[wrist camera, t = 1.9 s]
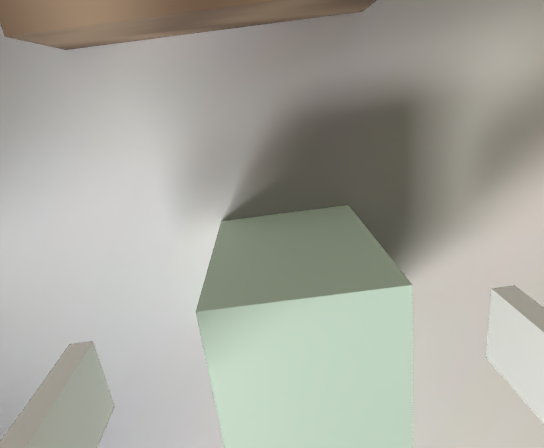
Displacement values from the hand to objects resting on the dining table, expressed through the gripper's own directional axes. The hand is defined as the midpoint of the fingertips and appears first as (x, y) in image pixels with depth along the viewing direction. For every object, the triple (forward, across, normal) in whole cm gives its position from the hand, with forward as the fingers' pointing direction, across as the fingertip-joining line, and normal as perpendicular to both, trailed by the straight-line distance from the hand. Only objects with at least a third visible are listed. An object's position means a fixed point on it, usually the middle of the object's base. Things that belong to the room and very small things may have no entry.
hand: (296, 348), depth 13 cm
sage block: (+7, 0, 0) cm, 7 cm away
